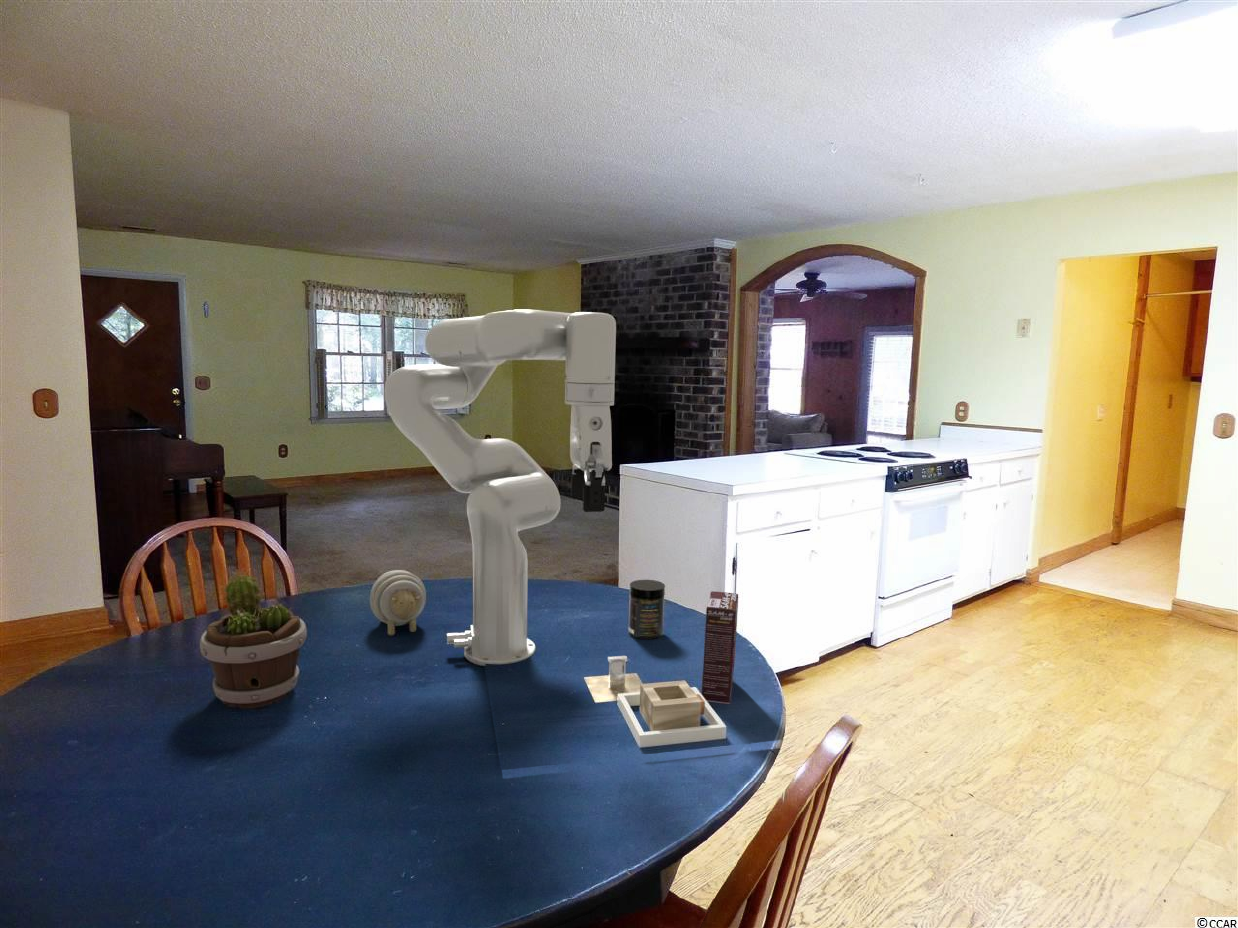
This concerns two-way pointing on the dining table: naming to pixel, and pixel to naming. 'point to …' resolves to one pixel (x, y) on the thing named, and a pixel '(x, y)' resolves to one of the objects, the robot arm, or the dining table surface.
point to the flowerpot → (252, 647)
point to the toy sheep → (398, 599)
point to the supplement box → (719, 647)
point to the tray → (673, 735)
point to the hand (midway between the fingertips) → (587, 504)
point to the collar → (670, 705)
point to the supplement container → (646, 609)
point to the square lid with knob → (613, 681)
